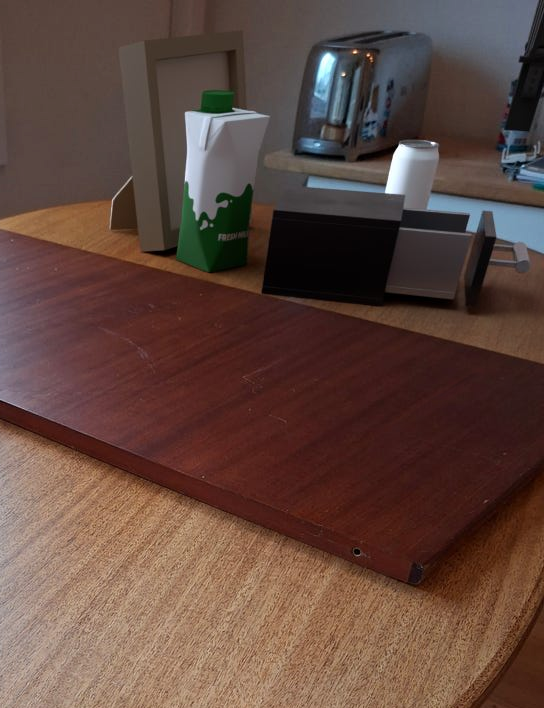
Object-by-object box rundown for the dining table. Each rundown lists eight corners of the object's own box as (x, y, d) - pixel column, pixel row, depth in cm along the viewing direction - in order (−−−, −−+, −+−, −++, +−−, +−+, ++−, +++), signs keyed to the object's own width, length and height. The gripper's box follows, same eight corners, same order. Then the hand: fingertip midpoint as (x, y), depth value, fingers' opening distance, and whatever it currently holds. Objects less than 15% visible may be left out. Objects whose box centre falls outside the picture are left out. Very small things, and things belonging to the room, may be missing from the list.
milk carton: (213, 249, 126) (231, 87, 114) (257, 265, 121) (281, 96, 108) (166, 259, 123) (179, 92, 110) (208, 276, 117) (227, 102, 104)
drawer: (512, 280, 113) (534, 214, 108) (518, 311, 104) (542, 241, 99) (366, 265, 118) (380, 201, 113) (359, 294, 108) (374, 226, 103)
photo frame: (251, 228, 136) (277, 32, 120) (163, 257, 123) (179, 44, 108) (175, 211, 144) (190, 25, 128) (86, 237, 131) (90, 35, 115)
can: (414, 239, 131) (436, 149, 124) (371, 233, 134) (390, 144, 126) (425, 229, 136) (447, 142, 128) (383, 223, 138) (402, 137, 131)
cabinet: (387, 274, 118) (405, 194, 112) (381, 306, 108) (401, 220, 102) (276, 263, 122) (288, 185, 115) (261, 293, 112) (273, 209, 105)
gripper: (550, -141, 92) (480, 118, 107) (562, -148, 82) (483, 137, 97) (629, -141, 90) (546, 122, 105) (651, -148, 80) (556, 142, 95)
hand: (516, 129), depth 101 cm, fingers closed
